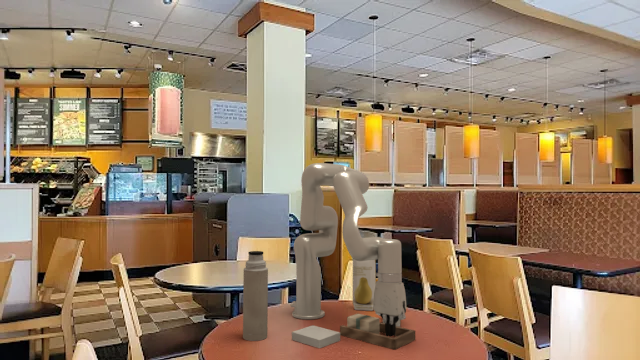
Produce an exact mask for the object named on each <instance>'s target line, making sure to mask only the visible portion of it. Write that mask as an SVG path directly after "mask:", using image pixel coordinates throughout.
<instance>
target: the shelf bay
mask: <svg viewBox="0 0 640 360" xmlns="http://www.w3.org/2000/svg"><path fill="white" fill-rule="evenodd" d="M339 327H340V329H339V331H340V336H342V337H347V338H351V339H353V340H357V341H360V340H362V341H361V342H364V341H365V343H368V344H372V345H377V346H380V347H383V348H385V349H386V348H387V349H390V350H391V349H392V350H397V349H399V348H401V347H403V346H406V345H407V344H410V343H412V342H415V341H416V330H414V329H410V328H407V327H402V326H400V327H398V326H396V333H395V335H394V336H392V337H389V336H386V332H385V323H383V322H380V334H376V333H372V332H368V331H364V330H360V329H356V328H352V327H348V326H347V325H344V324H343V325H340V326H339ZM383 334H385V335H383Z"/></svg>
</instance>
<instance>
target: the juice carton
mask: <svg viewBox="0 0 640 360" xmlns="http://www.w3.org/2000/svg"><path fill="white" fill-rule="evenodd" d="M376 261H377V259H376V260H368V261H356V260H355V259H353V258H352V304H353V308H354V310H355V311H371V312H372V311H374V309H373V299H374V289H375V284H376V280H377V278H376V275H375V274H376V273H377V272H376V271H377V268H376V267H377V262H376Z"/></svg>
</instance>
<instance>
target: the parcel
mask: <svg viewBox="0 0 640 360" xmlns="http://www.w3.org/2000/svg"><path fill="white" fill-rule="evenodd" d="M346 321H347V322H346V323H347V324H346V326H348V327H352V328H356V329H360V330H364V331H368V332H372V333H376V334H380V335H381V333H380V323H381V322H380V317H376V316H371V315H368V314H367V315H366V314H362V313H355V314H352V315H349V316H347V319H346Z"/></svg>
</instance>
